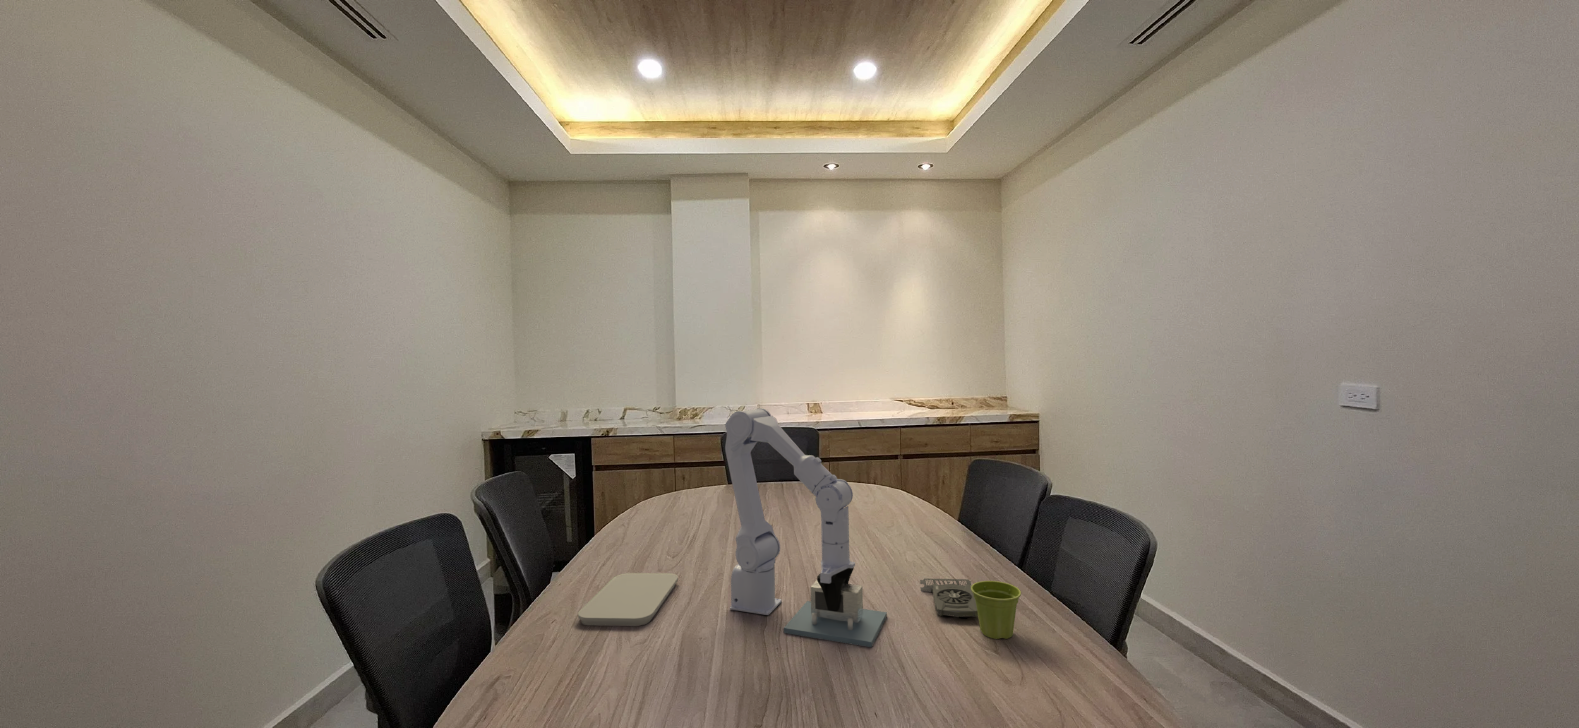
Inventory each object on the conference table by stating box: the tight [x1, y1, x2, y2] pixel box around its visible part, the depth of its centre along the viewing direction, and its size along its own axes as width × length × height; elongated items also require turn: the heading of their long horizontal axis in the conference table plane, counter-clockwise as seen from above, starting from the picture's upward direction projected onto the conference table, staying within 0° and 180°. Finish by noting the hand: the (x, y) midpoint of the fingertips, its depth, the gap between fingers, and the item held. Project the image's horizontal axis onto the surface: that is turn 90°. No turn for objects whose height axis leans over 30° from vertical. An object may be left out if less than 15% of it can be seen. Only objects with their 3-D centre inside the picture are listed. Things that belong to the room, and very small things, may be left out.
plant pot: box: [971, 580, 1022, 640], centre depth 115 cm, size 9×9×9 cm
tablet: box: [577, 572, 679, 627], centre depth 134 cm, size 16×26×2 cm, turn 176°
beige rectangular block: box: [810, 579, 864, 623], centre depth 120 cm, size 10×4×6 cm, turn 69°
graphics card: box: [919, 577, 978, 620], centre depth 129 cm, size 17×4×12 cm
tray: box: [783, 600, 888, 648], centre depth 120 cm, size 18×14×3 cm
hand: (836, 605), depth 120 cm, fingers closed on beige rectangular block, 4 cm apart
